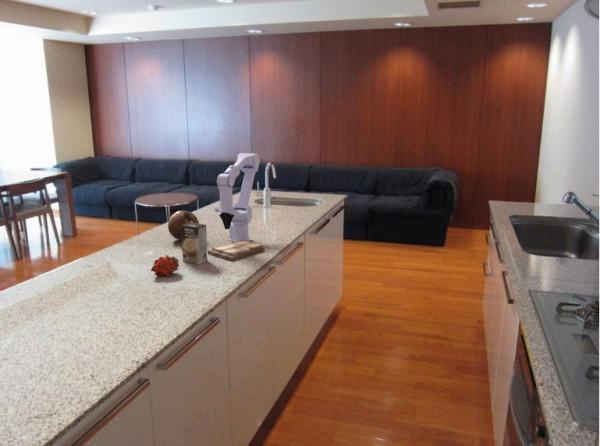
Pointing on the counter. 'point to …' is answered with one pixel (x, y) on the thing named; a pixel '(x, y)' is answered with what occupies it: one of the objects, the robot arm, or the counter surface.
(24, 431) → the counter surface
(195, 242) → the coffee box
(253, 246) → the board
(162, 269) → the dragon fruit
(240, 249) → the oak plank
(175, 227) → the wooden sphere
